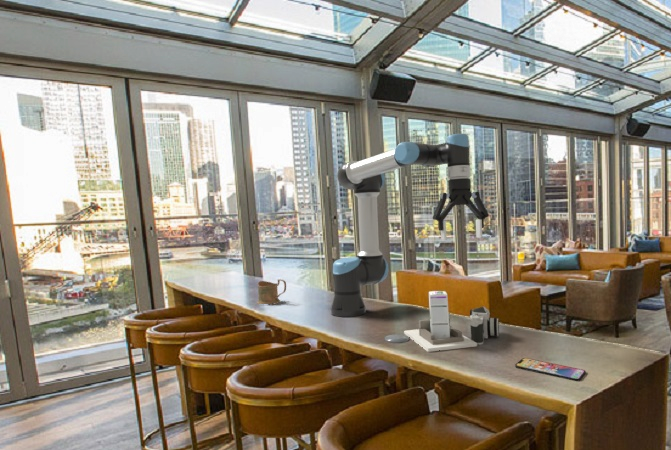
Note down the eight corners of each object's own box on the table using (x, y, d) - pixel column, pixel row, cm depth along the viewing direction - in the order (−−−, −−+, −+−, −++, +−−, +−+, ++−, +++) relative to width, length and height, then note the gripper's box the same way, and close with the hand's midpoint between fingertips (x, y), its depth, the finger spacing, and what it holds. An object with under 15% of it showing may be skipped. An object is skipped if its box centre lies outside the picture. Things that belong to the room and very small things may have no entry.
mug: (278, 306, 194) (277, 281, 193) (252, 303, 203) (250, 280, 203) (293, 301, 203) (292, 278, 203) (267, 299, 213) (266, 276, 213)
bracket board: (404, 333, 141) (403, 316, 140) (447, 329, 144) (446, 312, 143) (428, 351, 121) (427, 331, 121) (477, 346, 124) (476, 326, 124)
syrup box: (450, 340, 127) (448, 294, 127) (431, 340, 128) (429, 294, 128) (448, 334, 132) (446, 290, 132) (430, 334, 133) (428, 290, 133)
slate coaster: (381, 338, 138) (381, 335, 138) (403, 335, 139) (403, 333, 139) (389, 345, 130) (389, 342, 130) (412, 342, 132) (412, 340, 132)
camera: (498, 346, 123) (496, 314, 123) (468, 344, 126) (467, 312, 126) (499, 332, 138) (498, 302, 137) (472, 330, 141) (471, 301, 141)
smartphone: (579, 380, 96) (513, 365, 106) (579, 383, 96) (513, 368, 106) (586, 370, 101) (523, 357, 111) (586, 374, 101) (523, 360, 111)
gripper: (430, 178, 137) (433, 241, 137) (497, 176, 141) (499, 237, 142) (421, 180, 144) (424, 240, 144) (485, 178, 149) (487, 236, 149)
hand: (461, 238), depth 143 cm, fingers open, 13 cm apart
